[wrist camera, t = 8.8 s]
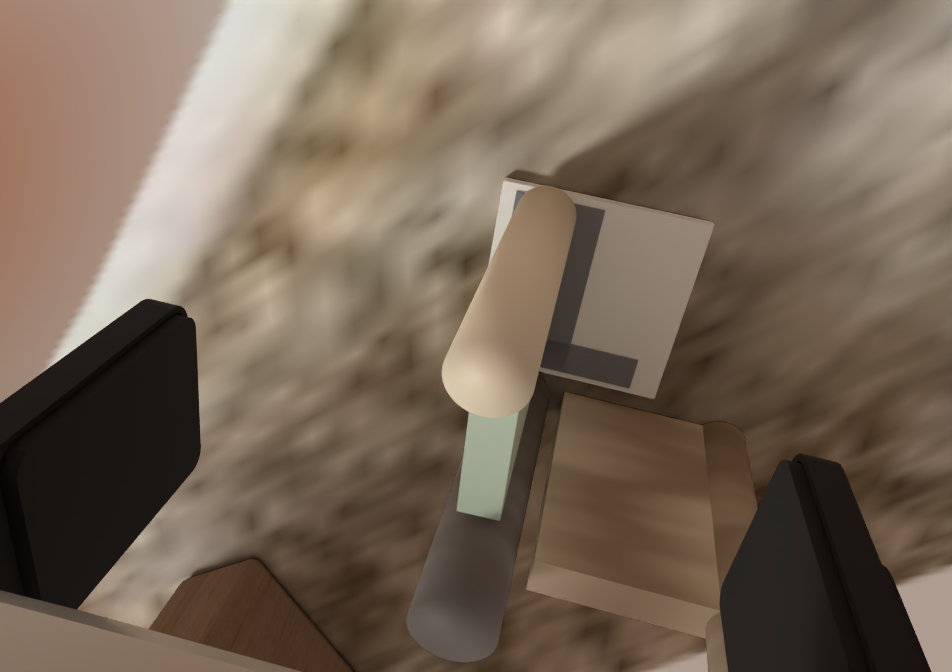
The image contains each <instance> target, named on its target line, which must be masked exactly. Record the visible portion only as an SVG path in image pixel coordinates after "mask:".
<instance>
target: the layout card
mask: <svg viewBox="0 0 952 672" xmlns="http://www.w3.org/2000/svg"><path fill="white" fill-rule="evenodd" d="M538 186H544V185H539V184H535V183H530V182H526V181H521V180H516V179H512V178H507V177H505V179H504V181H503V186H502V192H501V197H500V203H499V209H498V214H497V220H496V226H495V231H494V237H493V243H492V248H491V254H490V260H489V264H490V261H491V259H492V257H493V255H494V253H495V251H496V249H497V247H498V244H499V242H500V240H501V238H502V236H503V234H504V232H505V230H506V227H507V225H508V223H509V221H510V219H511V217H512V215H513V212H514V210H515V208H516V206H517V204H518V202H519V200H520V198H521V197H522V196H523V195H524V194H525V193H526V192H527V191H529V190H530V189H532V188H535V187H538ZM560 190H562V191H564V192H565V193H566V194H567V195H568V196H569V197H570V198H571V199H572V201H573V203H574V205H575V208H576V213H577V218H576V223H575V227H574V231H573V235H572V240H571V244H570V248H569V252H568V256H567V260H566V264H565V268H564V272H563V276H562V280H561V284H560V288H559V292H558V296H557V300H556V304H555V308H554V312H553V316H552V321H551V325H550V329H549V333H548V337H547V341H546V345H545V349H544V353H543V357H542V361H541V365H540V369H539V371H540V372H544V373H548V374H552V375H556V376H560V377H564V378H568V379H573V380H577V381H581V382H585V383H589V384H593V385H597V386H601V387H605V388H610V389H614V390H618V391H622V392H626V393H630V394H634V395H638V396H643V397H647V398H651V399H655V396H656V393H657V390H658V387H659V384H660V381H661V378H662V376H663V373H664V370H665V367H666V364H667V361H668V358H669V355H670V352H671V350H672V347H673V344H674V341H675V338H676V335H677V332H678V329H679V326H680V324H681V321H682V318H683V315H684V312H685V309H686V306H687V303H688V300H689V298H690V295H691V292H692V289H693V286H694V283H695V280H696V277H697V274H698V272H699V269H700V266H701V263H702V260H703V257H704V254H705V251H706V248H707V245H708V243H709V240H710V237H711V234H712V231H713V228H714V223H713V222H710V221H706V220H701V219H696V218H692V217H687V216H682V215H678V214H673V213H669V212H664V211H659V210H655V209H650V208H646V207H641V206H636V205H632V204H627V203H622V202H618V201H613V200H609V199H604V198H599V197H595V196H590V195H586V194H581V193H576V192H572V191H567V190H563V189H560ZM488 266H489V265H488Z"/></svg>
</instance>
